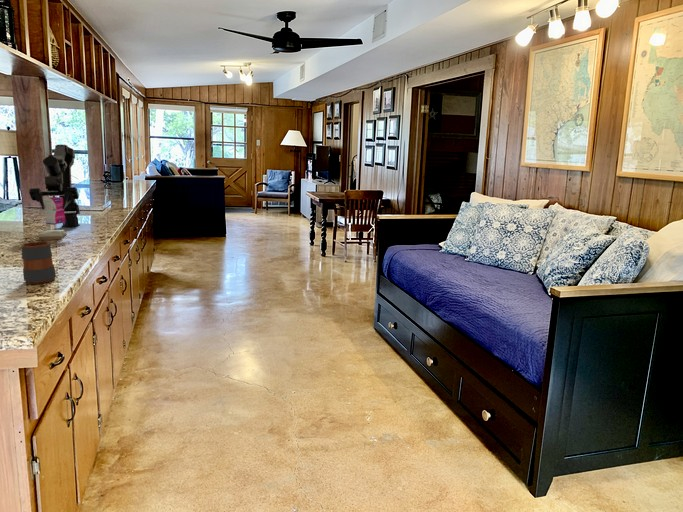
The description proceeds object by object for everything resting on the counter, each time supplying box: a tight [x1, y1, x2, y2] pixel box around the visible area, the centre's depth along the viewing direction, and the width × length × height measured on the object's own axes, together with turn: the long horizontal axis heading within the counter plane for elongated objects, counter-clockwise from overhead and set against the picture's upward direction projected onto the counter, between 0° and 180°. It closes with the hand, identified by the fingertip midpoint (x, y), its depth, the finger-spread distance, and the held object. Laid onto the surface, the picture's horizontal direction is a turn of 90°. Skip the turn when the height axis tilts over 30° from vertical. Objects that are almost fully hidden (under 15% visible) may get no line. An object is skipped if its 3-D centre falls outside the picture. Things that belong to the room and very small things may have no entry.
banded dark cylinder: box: [20, 241, 57, 285], centre depth 162 cm, size 9×12×12 cm
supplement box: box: [43, 196, 66, 226], centre depth 230 cm, size 6×6×12 cm
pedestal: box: [38, 229, 68, 241], centre depth 231 cm, size 9×9×3 cm
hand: (53, 208), depth 228 cm, fingers closed on supplement box, 8 cm apart
